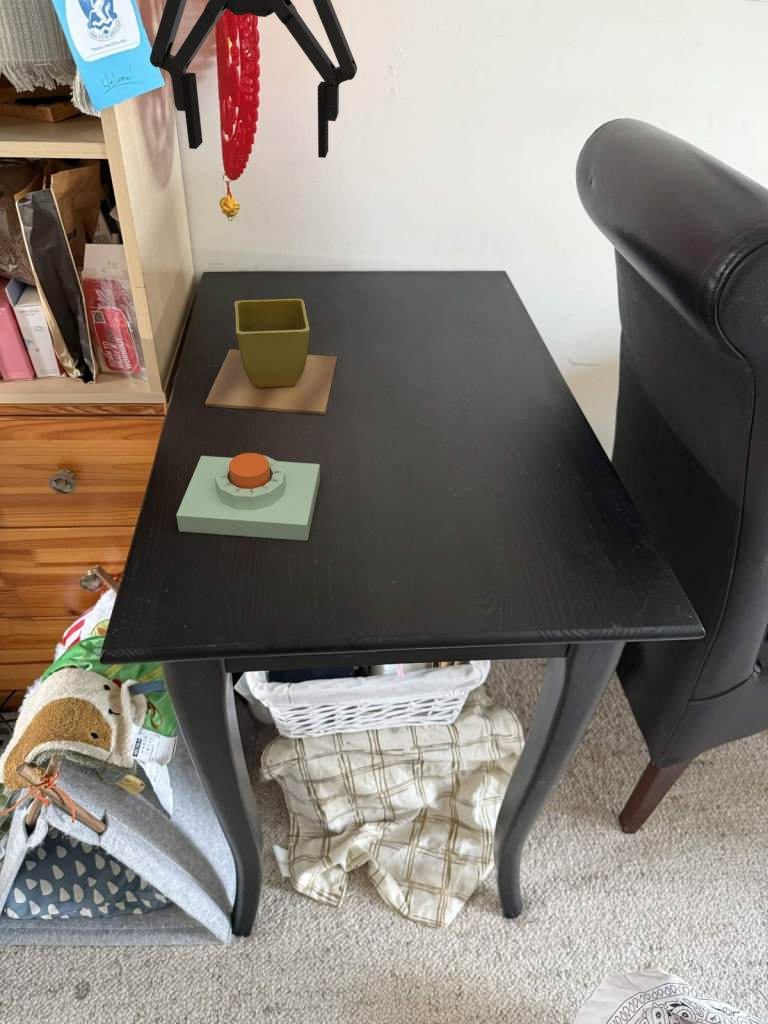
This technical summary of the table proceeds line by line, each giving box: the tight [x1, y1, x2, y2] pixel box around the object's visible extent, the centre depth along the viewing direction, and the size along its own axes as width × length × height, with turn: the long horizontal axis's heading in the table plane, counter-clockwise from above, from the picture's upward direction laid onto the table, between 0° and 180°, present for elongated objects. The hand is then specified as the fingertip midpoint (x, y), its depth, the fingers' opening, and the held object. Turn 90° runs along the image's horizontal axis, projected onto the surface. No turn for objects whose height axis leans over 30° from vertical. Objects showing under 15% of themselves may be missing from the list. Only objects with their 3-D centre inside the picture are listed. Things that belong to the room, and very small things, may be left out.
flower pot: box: [234, 298, 311, 388], centre depth 93 cm, size 9×9×9 cm
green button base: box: [175, 454, 321, 542], centre depth 76 cm, size 13×10×4 cm
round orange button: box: [229, 452, 270, 489], centre depth 74 cm, size 4×4×2 cm
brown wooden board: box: [204, 348, 338, 415], centre depth 96 cm, size 15×14×1 cm
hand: (259, 150), depth 77 cm, fingers open, 13 cm apart
